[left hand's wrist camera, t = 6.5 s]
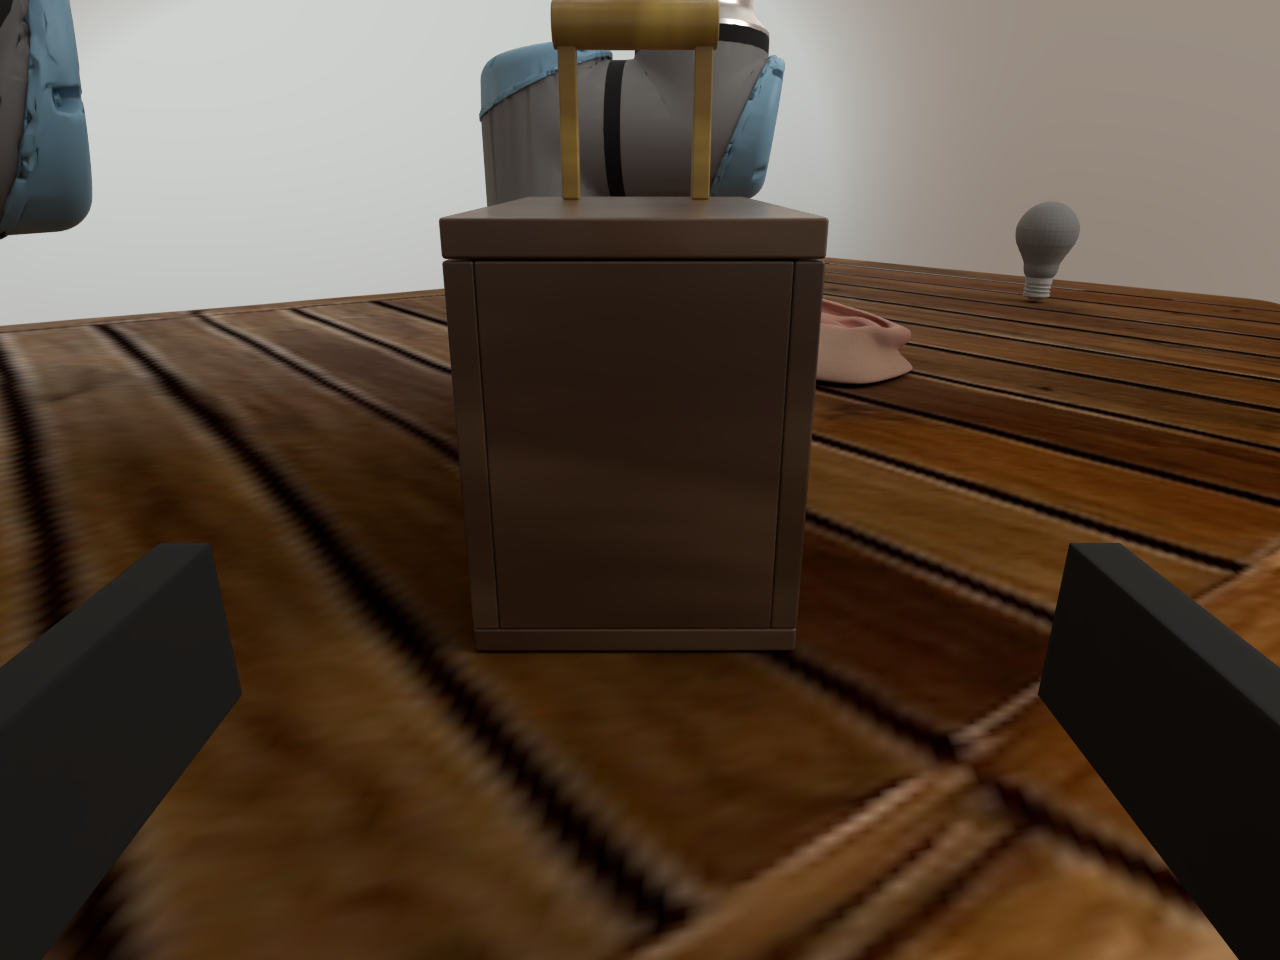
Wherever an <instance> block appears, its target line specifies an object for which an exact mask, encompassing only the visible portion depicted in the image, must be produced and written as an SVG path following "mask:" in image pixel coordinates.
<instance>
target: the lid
mask: <svg viewBox="0 0 1280 960" xmlns="http://www.w3.org/2000/svg"><path fill="white" fill-rule="evenodd" d="M719 22H720V7H719V0H552V2H551V31H552V42H553V48H554V50H557V57H558V88H559V119H560V150H561V180H562V197H526V198H522V199H518V200H514V201H510V202H505V203H501V204H497V205H493V206H489V207H485V208H480V209H476V210H472V211H468V212H464V213H459V214H455V215H451V216H447V217H442V218H440V220H439V227H440V239H441V251H442V256H443V258H445V259H823V258H825V256H826V248H827V235H828V222H829V221H828V218H825V217H821V216H817V215H814V214H810V213H805V212H801V211H797V210H793V209H789V208H785V207H781V206H777V205H773V204H769V203H765V202H761V201H757V200H753V199H749V198H745V197H709V188H710V153H711V118H712V83H713V50H716V49H717V46H718V39H719ZM577 50H694V59H693V107H692V154H691V197H581V189H580V148H579V108H578V67H577Z"/></svg>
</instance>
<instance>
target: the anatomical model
mask: <svg viewBox="0 0 1280 960" xmlns="http://www.w3.org/2000/svg"><path fill="white" fill-rule="evenodd" d="M910 337H911V332H910V330H908V329H907V328H905V327H903V326H900V325H898V324H895V323H893V322H890V321H888V320H886V319H883V318H881V317H879V316H876V315H873V314H871V313H868V312H865V311H862V310H858V309H855V308H852V307H848V306H845V305H842V304H838V303H835V302H832V301H828V300H825V299H823V300H822V312H821V325H820V338H819V350H818V363H817V376H816V380H819V381H826V382H834V383H844V384H867V383H874V382H879V381H883V380H887V379H890V378H894V377H897V376H900V375H903V374H905V373H907V372H909V371H911V370H912V366H911V364H910V363H909V362H908V361H907V360H906V359H905V358H904V357H903V356H902V355H901V354H900V353H899V351H898V349H899V348H900V347H901V346H903V345H904V344H906V343H907V342H908V341H909V340H910Z"/></svg>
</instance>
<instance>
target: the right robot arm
mask: <svg viewBox="0 0 1280 960" xmlns="http://www.w3.org/2000/svg"><path fill="white" fill-rule="evenodd" d="M719 7H720V22H719V39H718V46H717V49H716V50H713V83H712V118H711V153H710V188H709V197H745V198H751V197H753V196H755V195H756V194H757V193H758V192H759V191H760V189H761V188H762V186H763V184H764V180H765V176H766V172H767V167H768V162H769V157H770V151H771V146H772V140H773V135H774V129H775V124H776V118H777V112H778V106H779V100H780V94H781V88H782V81H783V73H784V69H785V62H784V60H783V59H781V58H778V57H777V56H776V55H773V56H770V57H768V52H769V32H768V31H767V30H766V29H765V28H764V26H763V25H762V24H761V23H760V22H759V21H758V20H757V19H756V17H755V16H754V14H753V0H719ZM693 59H694V50H635V57H634V59H631V60H612V53H611V51H610V50H577V67H578V108H579V148H580V189H581V197H691V154H692V107H693ZM479 116H480V121H481V122H482V136H483V151H484V165H485V180H486V194H487V207H489V206H493V205H497V204H501V203H505V202H510V201H514V200H518V199H522V198H526V197H562V180H561V150H560V119H559V88H558V57H557V50H554V48H553V42H548V43H542V44H535V45H530V46H526V47H521V48H517V49H513V50H510V51H507V52H504V53H501V54H499V55H497V56H495V57H494V58H492V59H491V60H490V61H488V62H487V64H486V65H485V67H484V69H483V71H482V74H481V111H480V114H479Z"/></svg>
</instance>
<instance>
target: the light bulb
mask: <svg viewBox="0 0 1280 960" xmlns="http://www.w3.org/2000/svg"><path fill="white" fill-rule="evenodd" d="M1079 231H1080V225H1079V221H1078V218H1077V216H1076V214H1075V213H1074V212H1073V210H1072V209H1071V208H1070V207H1069V206H1067V205H1065V204H1062V203H1059V202H1045V203H1040V204H1038V205H1035V206H1034V207H1032V208H1031V209H1030V210H1028V211H1027V212H1026V213H1025V214H1024V215H1023V217H1022V218H1021V219H1020V221H1019V223H1018V225H1017V227H1016V243H1017V245H1018V248H1019V251H1020V253H1021V255H1022V258H1023V261H1024V274H1025V282H1026V284H1024V285H1025V286H1026V287H1024V289H1025V291H1023V295H1024V296H1026V297H1027V298H1028V299H1030V300H1042V299H1045V298H1047V297H1049V296H1050V294H1048V293H1049V292H1050V291H1049V288H1051V287H1050V284H1052V280H1053V277H1054V276H1055V275H1056V273H1057V271H1058V268H1059V265H1060V263H1061V261H1062V260H1063V259H1064V257H1065V256H1066V255H1067V254H1068V252H1069V251H1070V250H1071V248H1072V247H1073V246H1074V245H1075V243H1076V241H1077V238H1078V235H1079Z"/></svg>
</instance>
